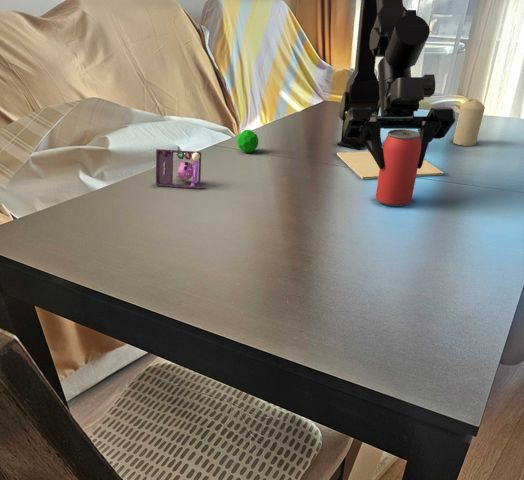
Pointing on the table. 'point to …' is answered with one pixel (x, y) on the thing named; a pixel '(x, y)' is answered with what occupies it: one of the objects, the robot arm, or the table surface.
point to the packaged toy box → (185, 169)
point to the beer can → (398, 167)
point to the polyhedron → (247, 141)
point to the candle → (469, 122)
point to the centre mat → (369, 169)
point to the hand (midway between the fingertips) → (400, 167)
